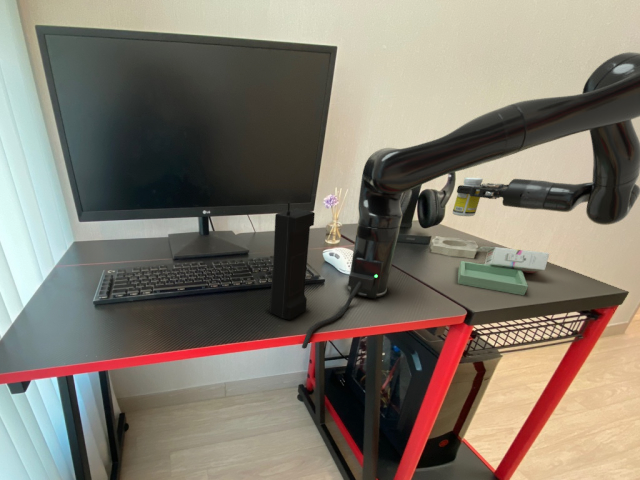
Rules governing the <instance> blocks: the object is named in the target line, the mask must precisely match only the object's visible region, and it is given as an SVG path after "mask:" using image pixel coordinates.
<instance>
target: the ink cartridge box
mask: <svg viewBox="0 0 640 480" xmlns="http://www.w3.org/2000/svg"><path fill="white" fill-rule="evenodd" d="M476 251H477V252H484V253H485V252H486V256H485V260H484V263H483V264H485V265H492V266H498V267H505V268H512V269H518V270H522V272H523V273H527V274H535V273H540V272H544V271H546V267H547V264H548V260H549V256H550V253H549V252H545V251H544V252H543V251H535V250H525V249H516V248H507V247H499V246H498V247H497V246H480V247H478V249H477V250H476Z"/></svg>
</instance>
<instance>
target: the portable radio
mask: <svg viewBox="0 0 640 480" xmlns="http://www.w3.org/2000/svg"><path fill="white" fill-rule="evenodd" d="M286 204H287V210H285V211H281V212H277V213H275V215H274V216H275V217H274V238H273V239H274V240H273V241H274V242H273V258H272V259H273V261H272V270H271V283H270V284H271V287H270V298H269V307H268V308H269V313H270V314H272V315H275V316H276V317H279V318H281V319H284V320H288V321H291V320H293V319H294V318H296V317H298V316H299V315H301V314H302V313H304V312H305V311H306V310H307V303H308V302H307V301H308V299H307V297H306V295H305V290H306V289H305V288H306V277H307V265H308V255H309V243H310V242H309V241H310V230H311V227H312V226H314V225H315V215H316V213H315V212H314V211H312V210H308V209H302V208H296V207H295V208H293V209H290V206H291V201H287V202H286Z"/></svg>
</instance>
